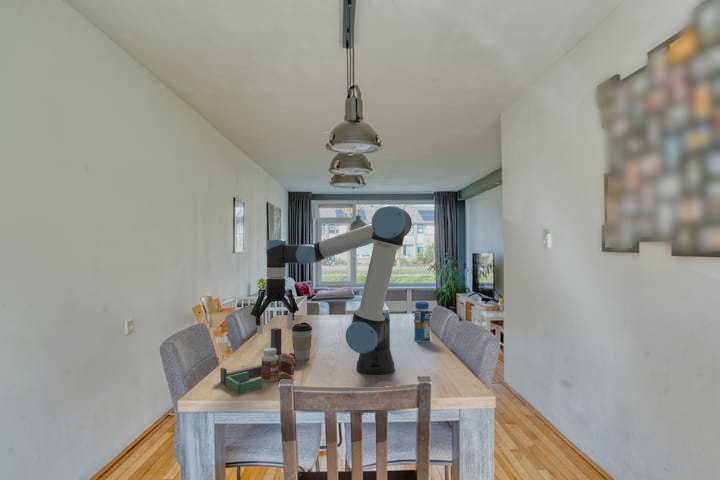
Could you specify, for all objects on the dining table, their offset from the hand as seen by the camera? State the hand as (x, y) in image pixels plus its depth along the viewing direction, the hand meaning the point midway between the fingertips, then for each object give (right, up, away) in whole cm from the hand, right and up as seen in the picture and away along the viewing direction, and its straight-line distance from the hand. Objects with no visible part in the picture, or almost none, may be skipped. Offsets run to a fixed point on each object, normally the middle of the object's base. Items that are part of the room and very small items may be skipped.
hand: (275, 331), depth 155 cm
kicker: (+4, -15, -4) cm, 16 cm away
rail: (-5, -15, -5) cm, 17 cm away
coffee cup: (+8, -16, +16) cm, 24 cm away
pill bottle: (+1, -15, -12) cm, 19 cm away
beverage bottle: (+66, -16, +46) cm, 82 cm away
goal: (-7, -15, -19) cm, 25 cm away
